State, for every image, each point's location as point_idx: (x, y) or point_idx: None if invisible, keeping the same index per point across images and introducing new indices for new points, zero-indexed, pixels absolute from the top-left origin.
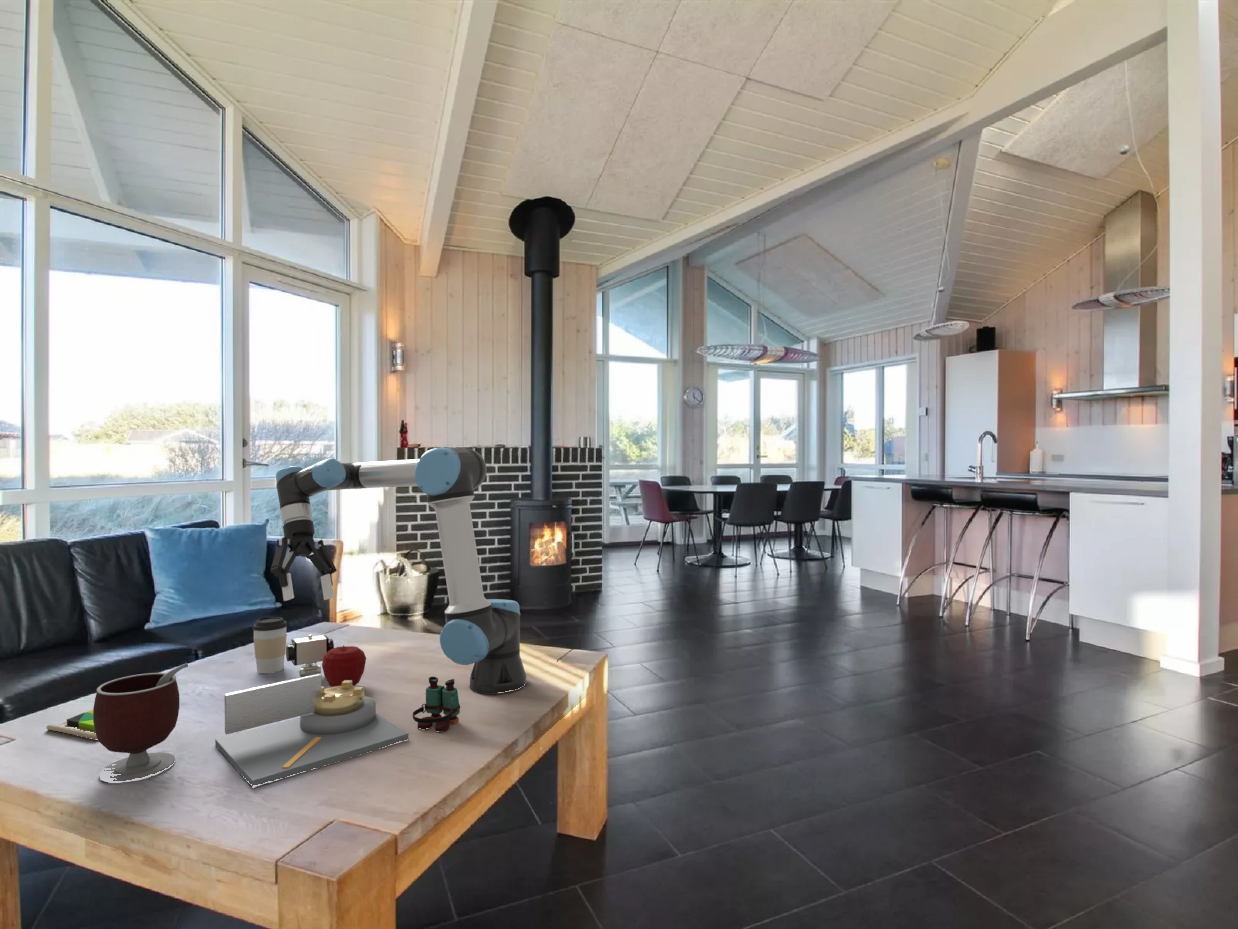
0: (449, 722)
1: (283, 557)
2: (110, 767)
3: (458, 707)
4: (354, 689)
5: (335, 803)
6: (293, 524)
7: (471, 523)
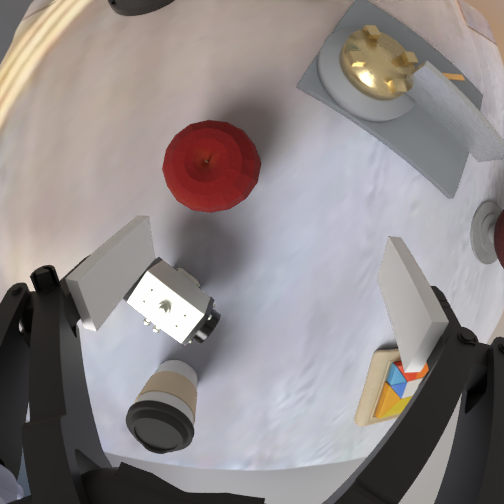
0: None
1: (501, 420)
2: (494, 256)
3: None
4: (379, 33)
5: (458, 29)
6: None
7: None
